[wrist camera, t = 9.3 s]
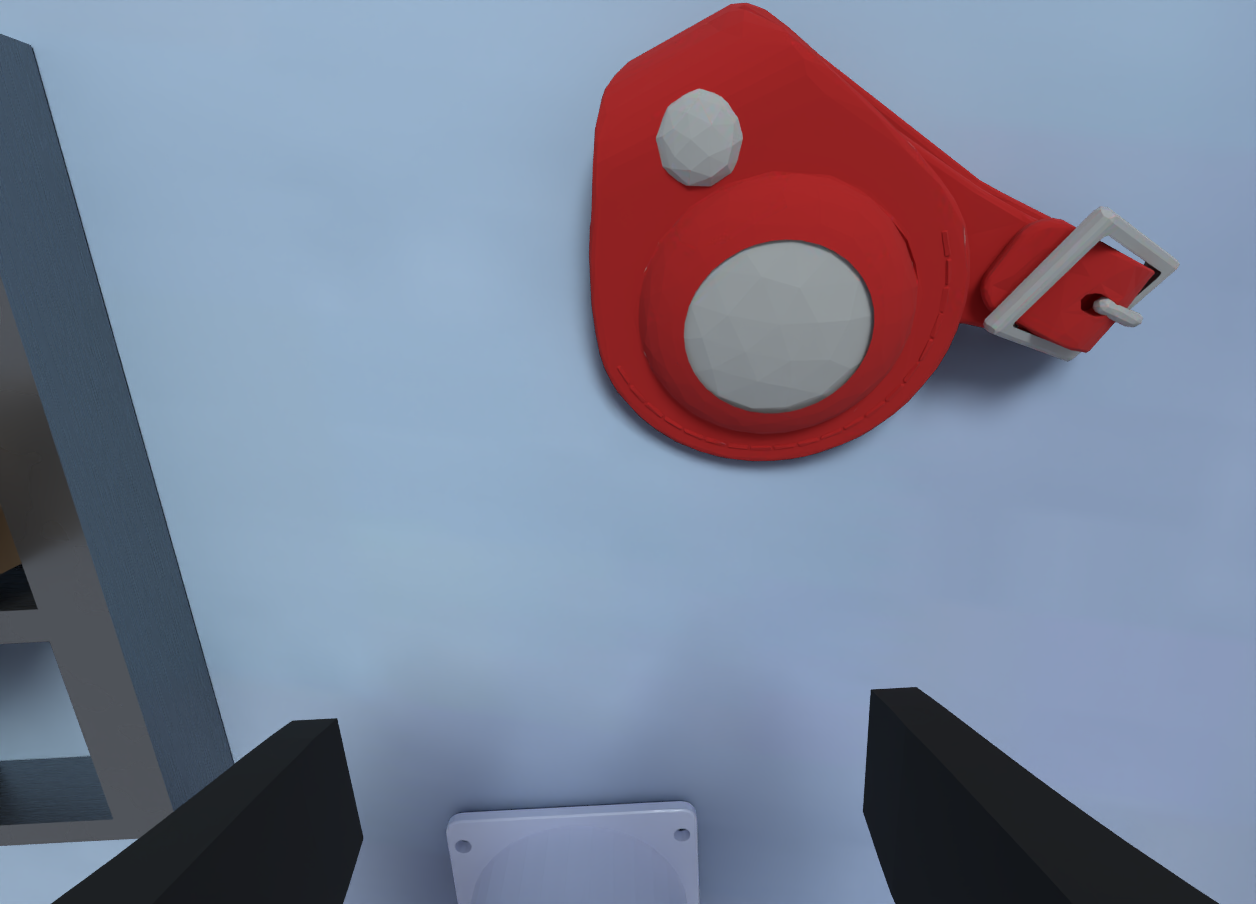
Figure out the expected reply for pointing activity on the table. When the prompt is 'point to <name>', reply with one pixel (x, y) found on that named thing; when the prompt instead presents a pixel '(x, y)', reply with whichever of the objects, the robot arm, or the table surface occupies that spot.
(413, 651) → the table surface
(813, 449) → the tracker holder
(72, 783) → the rail
